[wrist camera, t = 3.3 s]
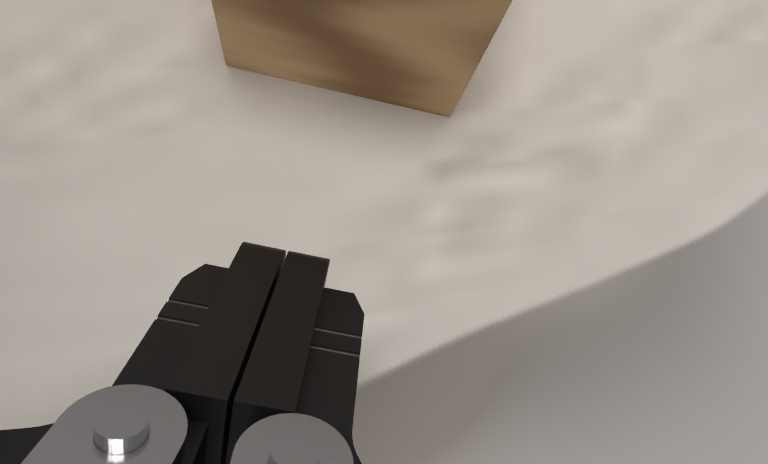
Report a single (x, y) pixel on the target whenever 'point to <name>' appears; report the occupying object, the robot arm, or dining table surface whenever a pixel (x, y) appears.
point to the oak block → (364, 45)
